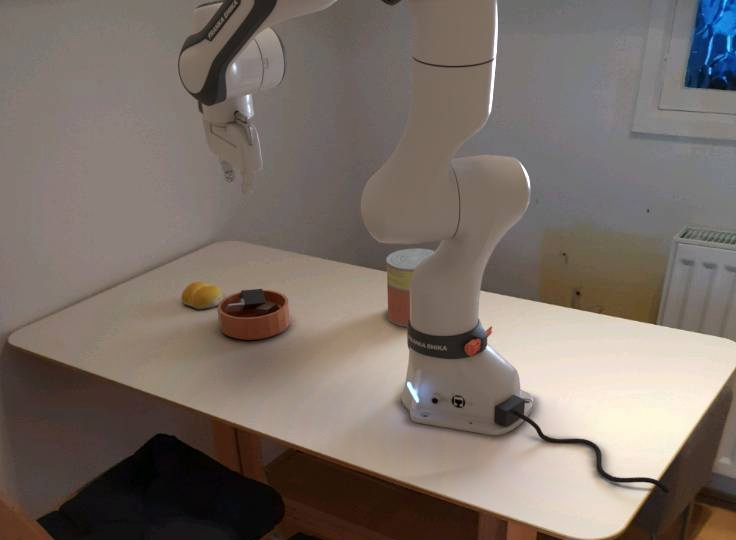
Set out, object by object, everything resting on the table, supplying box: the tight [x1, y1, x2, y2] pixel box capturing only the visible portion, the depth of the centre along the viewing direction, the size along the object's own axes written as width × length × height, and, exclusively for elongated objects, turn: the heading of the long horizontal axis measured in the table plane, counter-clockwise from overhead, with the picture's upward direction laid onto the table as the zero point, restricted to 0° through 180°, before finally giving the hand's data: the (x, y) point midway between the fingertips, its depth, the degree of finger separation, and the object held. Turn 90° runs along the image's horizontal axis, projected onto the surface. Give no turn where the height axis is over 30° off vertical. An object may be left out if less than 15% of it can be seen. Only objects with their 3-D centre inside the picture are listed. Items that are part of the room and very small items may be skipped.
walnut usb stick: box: [256, 302, 278, 317], centre depth 166 cm, size 8×3×3 cm, turn 155°
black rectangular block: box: [226, 288, 266, 312], centre depth 168 cm, size 8×3×3 cm
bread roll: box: [181, 281, 224, 310], centre depth 178 cm, size 8×9×4 cm
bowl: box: [217, 289, 291, 341], centre depth 167 cm, size 14×14×5 cm
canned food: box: [385, 247, 436, 328], centre depth 165 cm, size 11×11×12 cm
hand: (238, 187), depth 153 cm, fingers open, 8 cm apart
